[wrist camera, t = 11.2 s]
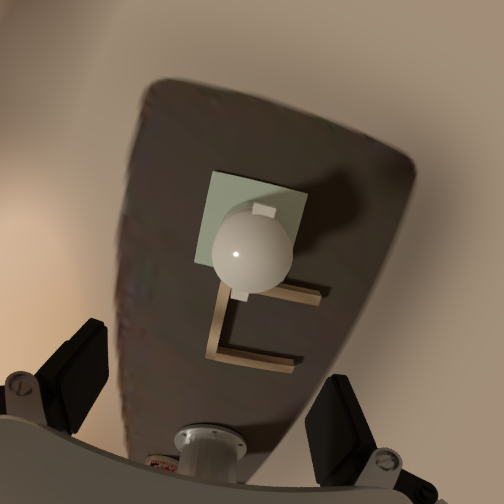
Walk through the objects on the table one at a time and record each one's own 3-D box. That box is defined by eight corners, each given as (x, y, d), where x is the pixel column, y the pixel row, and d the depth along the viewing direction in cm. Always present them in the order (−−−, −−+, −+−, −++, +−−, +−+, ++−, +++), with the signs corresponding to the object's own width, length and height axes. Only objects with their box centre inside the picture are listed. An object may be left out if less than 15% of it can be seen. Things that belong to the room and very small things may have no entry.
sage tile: (282, 280, 32) (282, 282, 31) (194, 261, 31) (194, 262, 31) (307, 193, 29) (307, 194, 29) (213, 171, 28) (212, 171, 28)
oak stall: (290, 366, 35) (291, 373, 34) (206, 351, 34) (204, 357, 33) (318, 290, 32) (321, 296, 31) (223, 270, 31) (222, 275, 30)
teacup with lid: (191, 461, 43) (184, 508, 32) (184, 477, 45) (177, 518, 34) (133, 443, 42) (117, 488, 31) (132, 461, 44) (119, 501, 33)
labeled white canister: (287, 201, 29) (305, 216, 20) (266, 276, 31) (274, 317, 23) (230, 187, 28) (224, 196, 20) (212, 263, 31) (201, 301, 22)
